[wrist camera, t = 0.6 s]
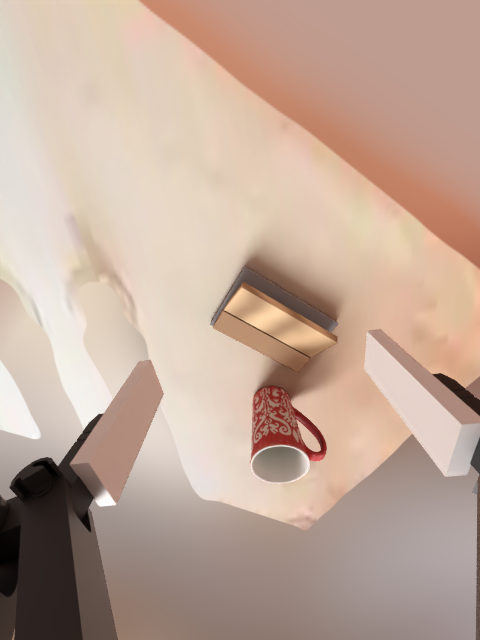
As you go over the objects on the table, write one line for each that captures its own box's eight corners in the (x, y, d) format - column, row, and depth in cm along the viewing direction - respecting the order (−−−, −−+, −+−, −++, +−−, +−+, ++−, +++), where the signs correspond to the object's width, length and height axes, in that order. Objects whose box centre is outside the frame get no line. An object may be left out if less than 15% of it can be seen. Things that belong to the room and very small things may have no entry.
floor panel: (210, 321, 40) (209, 327, 38) (244, 266, 36) (244, 269, 34) (296, 367, 44) (299, 374, 42) (336, 321, 40) (340, 327, 38)
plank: (226, 304, 38) (223, 309, 37) (243, 281, 33) (241, 287, 33) (311, 351, 42) (310, 357, 41) (337, 336, 37) (337, 342, 36)
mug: (244, 414, 49) (245, 481, 37) (251, 379, 46) (255, 442, 33) (304, 420, 50) (324, 489, 38) (316, 387, 46) (342, 451, 34)
